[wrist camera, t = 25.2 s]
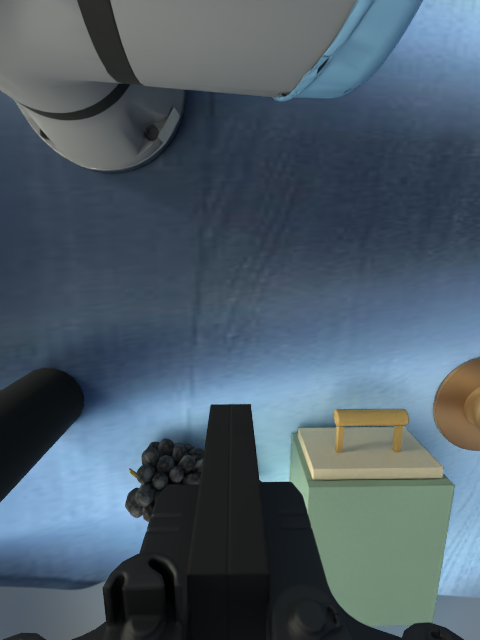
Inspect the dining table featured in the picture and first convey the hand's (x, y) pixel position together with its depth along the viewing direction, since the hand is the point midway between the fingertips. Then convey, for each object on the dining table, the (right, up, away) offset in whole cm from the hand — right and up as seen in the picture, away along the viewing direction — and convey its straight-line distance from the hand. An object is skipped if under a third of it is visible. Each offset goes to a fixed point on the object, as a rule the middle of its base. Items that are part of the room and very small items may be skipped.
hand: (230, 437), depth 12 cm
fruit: (-5, -13, +28) cm, 31 cm away
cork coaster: (+29, -6, +27) cm, 40 cm away
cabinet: (+13, -17, +29) cm, 36 cm away
